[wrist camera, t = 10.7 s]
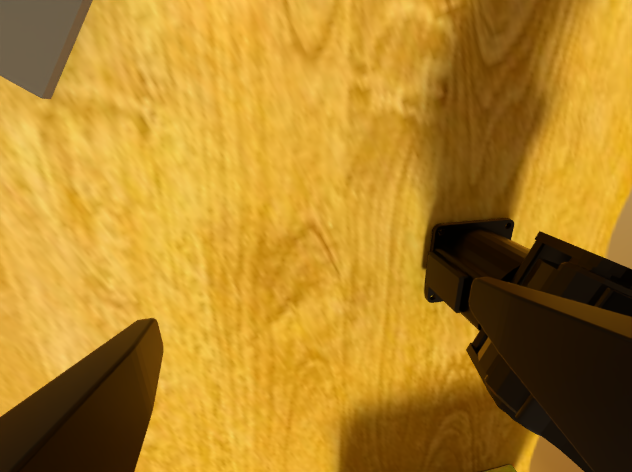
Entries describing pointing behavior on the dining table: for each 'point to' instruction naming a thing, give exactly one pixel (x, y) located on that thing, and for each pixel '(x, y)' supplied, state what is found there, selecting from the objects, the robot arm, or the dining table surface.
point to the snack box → (503, 469)
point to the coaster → (38, 41)
